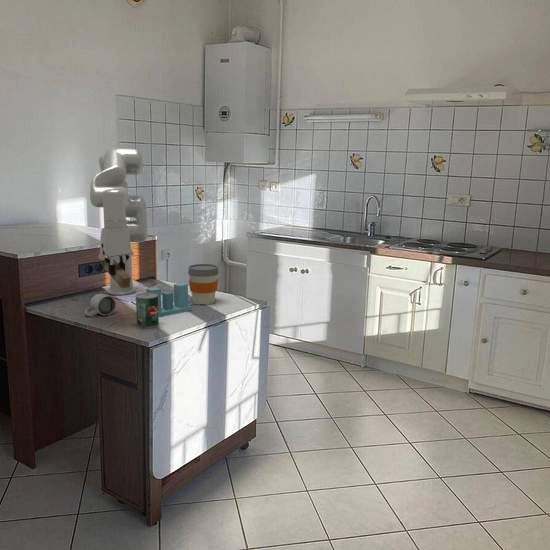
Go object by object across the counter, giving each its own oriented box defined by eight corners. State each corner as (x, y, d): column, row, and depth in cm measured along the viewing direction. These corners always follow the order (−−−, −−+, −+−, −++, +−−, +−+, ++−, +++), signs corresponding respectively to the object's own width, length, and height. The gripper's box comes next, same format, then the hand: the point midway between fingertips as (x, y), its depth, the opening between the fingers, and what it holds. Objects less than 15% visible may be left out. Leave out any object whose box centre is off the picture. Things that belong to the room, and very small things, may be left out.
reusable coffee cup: (182, 300, 236) (182, 266, 233) (207, 296, 244) (207, 262, 241) (199, 307, 227) (198, 271, 224) (224, 302, 235) (224, 267, 232)
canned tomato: (157, 327, 200) (156, 298, 198) (135, 327, 200) (133, 298, 197) (160, 321, 208) (159, 292, 206) (138, 321, 208) (137, 292, 205)
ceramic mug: (106, 309, 222) (105, 290, 220) (117, 313, 216) (115, 294, 215) (81, 314, 215) (79, 295, 213) (91, 319, 209) (89, 299, 207)
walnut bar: (103, 267, 208) (104, 258, 206) (111, 266, 210) (112, 257, 208) (121, 288, 199) (122, 278, 197) (129, 287, 201) (130, 277, 199)
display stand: (143, 314, 215) (142, 288, 213) (183, 307, 227) (183, 281, 225) (151, 318, 211) (150, 291, 209) (191, 310, 223) (191, 284, 220)
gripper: (131, 221, 207) (132, 269, 211) (88, 224, 197) (91, 275, 201) (140, 223, 202) (142, 273, 206) (97, 227, 191) (100, 279, 196)
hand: (117, 273), depth 203 cm, fingers closed on walnut bar, 3 cm apart
